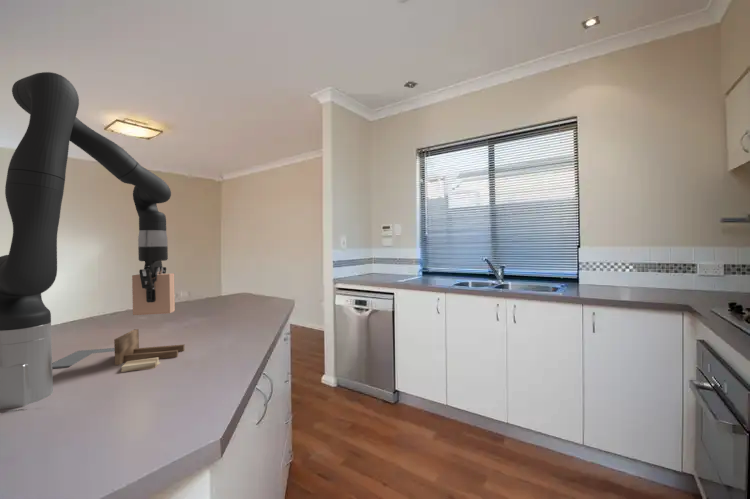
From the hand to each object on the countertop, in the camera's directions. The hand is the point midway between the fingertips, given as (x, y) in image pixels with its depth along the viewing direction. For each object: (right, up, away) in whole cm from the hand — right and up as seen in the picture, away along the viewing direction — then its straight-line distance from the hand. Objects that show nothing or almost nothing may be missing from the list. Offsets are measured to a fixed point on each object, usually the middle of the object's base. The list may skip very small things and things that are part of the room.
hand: (154, 300), depth 102 cm
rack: (0, -18, 0) cm, 18 cm away
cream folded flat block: (+3, -19, -9) cm, 21 cm away
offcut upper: (+3, -17, -10) cm, 20 cm away
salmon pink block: (0, -4, 0) cm, 4 cm away
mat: (-21, -18, +1) cm, 27 cm away
